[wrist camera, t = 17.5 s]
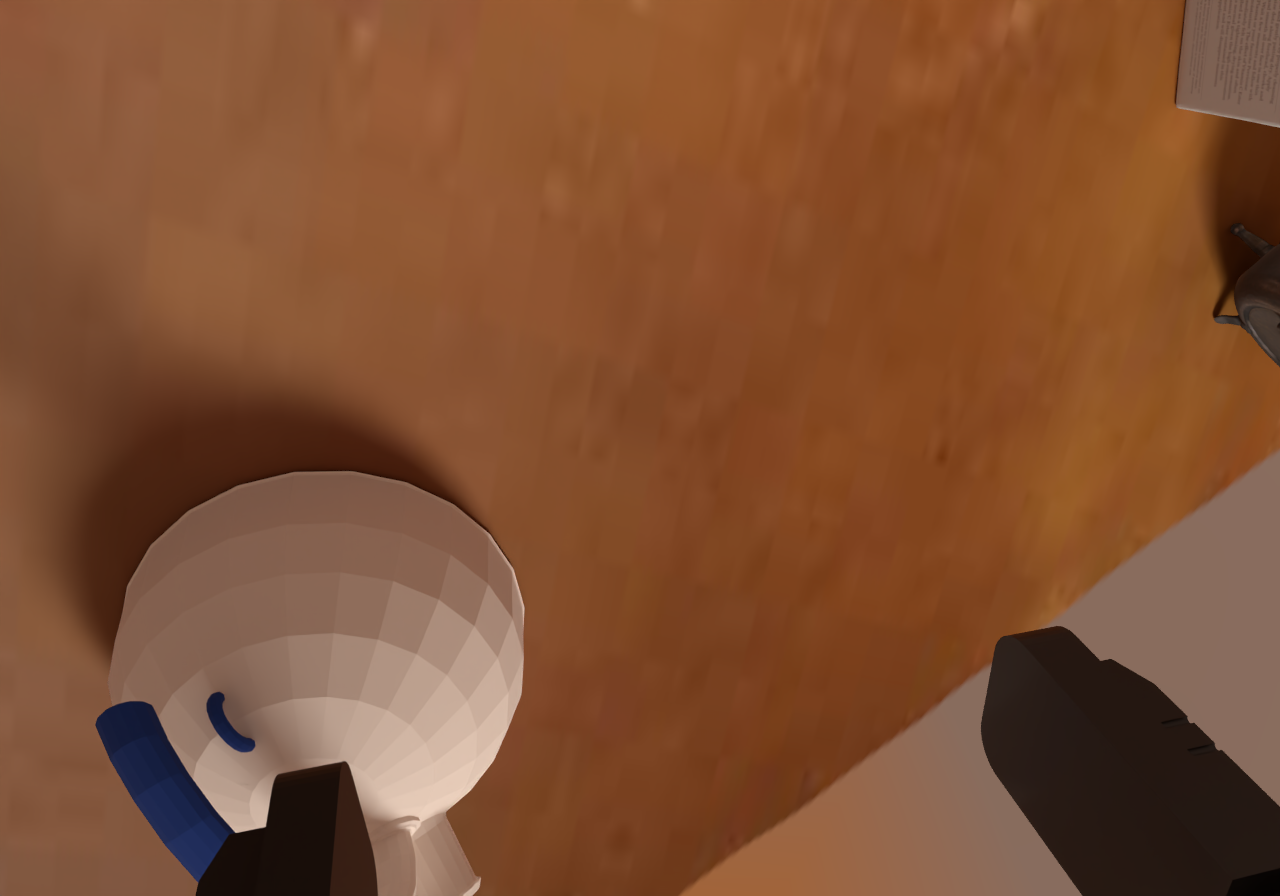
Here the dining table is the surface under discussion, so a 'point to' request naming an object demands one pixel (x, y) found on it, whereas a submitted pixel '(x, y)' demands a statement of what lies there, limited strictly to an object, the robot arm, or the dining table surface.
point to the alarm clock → (1259, 295)
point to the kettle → (317, 666)
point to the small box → (1231, 59)
